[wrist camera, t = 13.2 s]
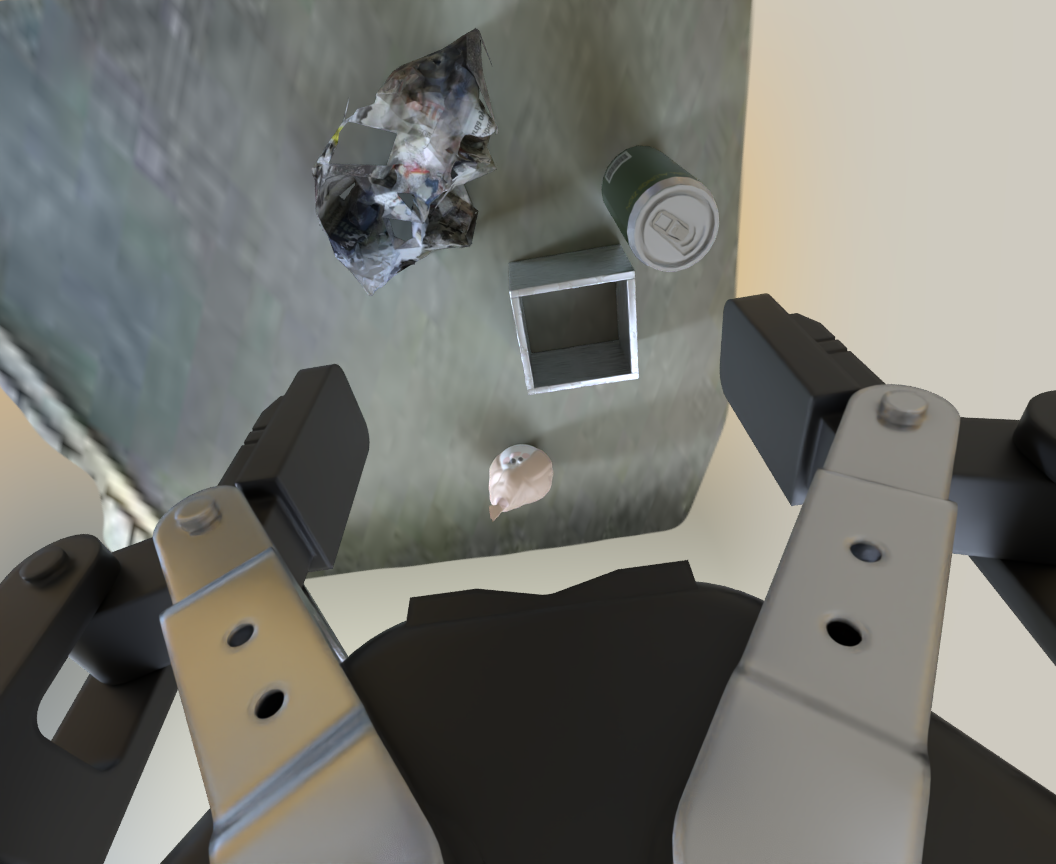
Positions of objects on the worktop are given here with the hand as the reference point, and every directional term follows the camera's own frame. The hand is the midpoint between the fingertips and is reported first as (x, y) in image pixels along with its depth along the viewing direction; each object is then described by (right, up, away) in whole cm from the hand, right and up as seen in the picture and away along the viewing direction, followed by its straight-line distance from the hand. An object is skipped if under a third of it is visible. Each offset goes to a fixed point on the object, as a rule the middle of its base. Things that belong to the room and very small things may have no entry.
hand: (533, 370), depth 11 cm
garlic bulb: (-1, -4, +45) cm, 45 cm away
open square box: (+4, +10, +35) cm, 37 cm away
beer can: (+8, +18, +29) cm, 35 cm away
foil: (-8, +18, +28) cm, 35 cm away
